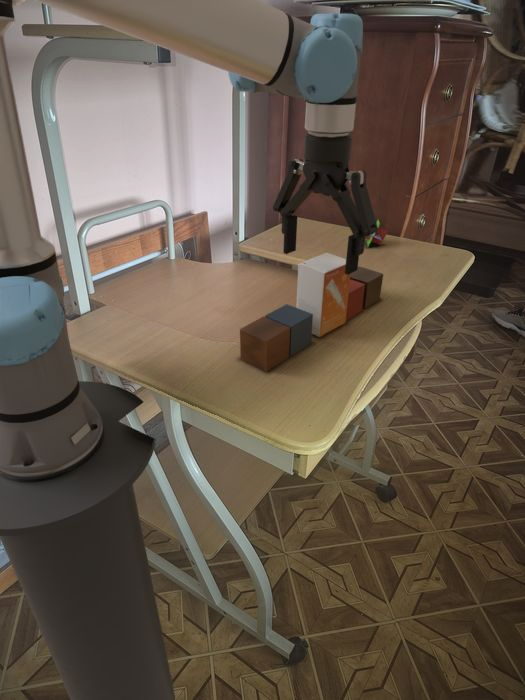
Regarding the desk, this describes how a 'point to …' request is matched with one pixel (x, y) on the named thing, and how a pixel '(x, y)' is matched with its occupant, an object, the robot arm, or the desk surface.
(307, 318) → the cube
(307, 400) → the desk surface
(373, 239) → the geometric puzzle
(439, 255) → the desk surface
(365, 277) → the cube
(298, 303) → the small box
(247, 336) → the cube
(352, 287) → the cube
